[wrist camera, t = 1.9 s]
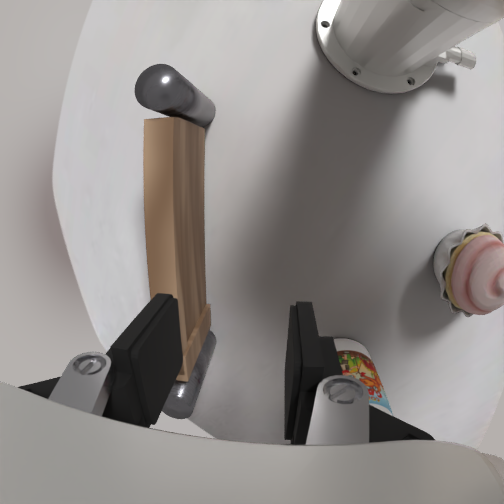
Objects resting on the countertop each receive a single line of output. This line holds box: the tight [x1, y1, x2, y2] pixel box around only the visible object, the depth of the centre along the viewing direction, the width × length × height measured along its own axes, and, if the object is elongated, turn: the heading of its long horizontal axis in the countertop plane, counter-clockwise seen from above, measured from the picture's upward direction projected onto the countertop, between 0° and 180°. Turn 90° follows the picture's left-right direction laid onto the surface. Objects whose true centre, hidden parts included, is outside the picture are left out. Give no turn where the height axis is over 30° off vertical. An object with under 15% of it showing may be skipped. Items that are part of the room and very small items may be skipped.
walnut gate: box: [143, 117, 211, 382], centre depth 25 cm, size 2×19×9 cm, turn 179°
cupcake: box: [433, 224, 504, 317], centre depth 24 cm, size 9×9×10 cm
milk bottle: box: [334, 338, 393, 416], centre depth 24 cm, size 8×8×20 cm
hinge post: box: [135, 64, 215, 127], centre depth 22 cm, size 3×3×11 cm
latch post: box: [162, 330, 216, 419], centre depth 28 cm, size 3×3×11 cm
